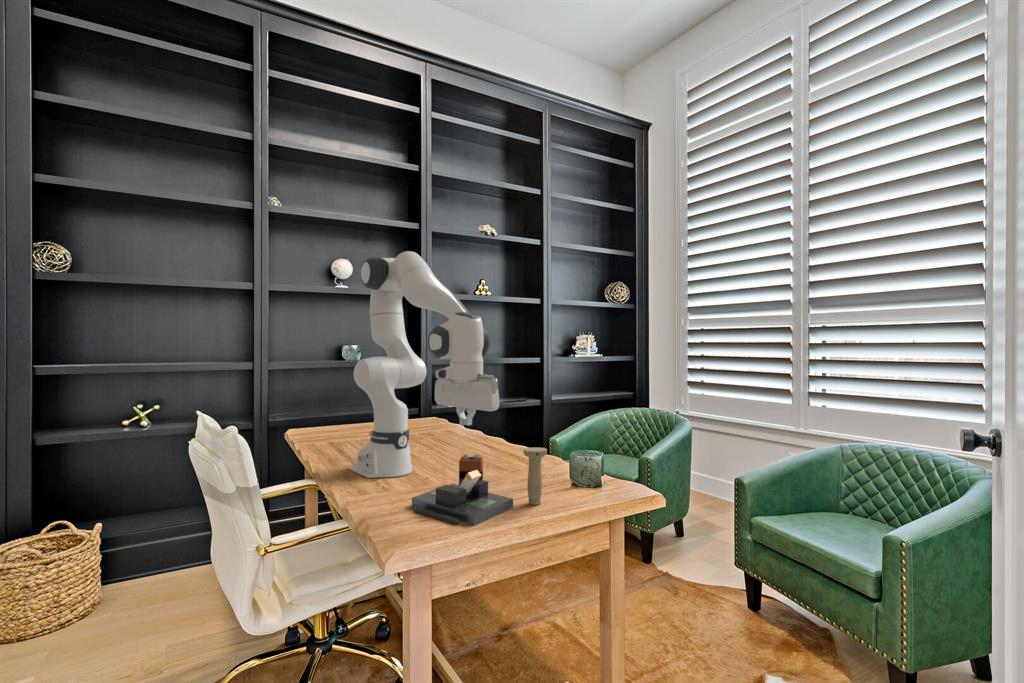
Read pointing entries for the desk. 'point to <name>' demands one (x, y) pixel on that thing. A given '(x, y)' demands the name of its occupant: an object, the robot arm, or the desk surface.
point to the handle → (534, 473)
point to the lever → (470, 481)
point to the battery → (470, 465)
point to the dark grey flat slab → (436, 515)
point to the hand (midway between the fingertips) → (465, 424)
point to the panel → (464, 509)
